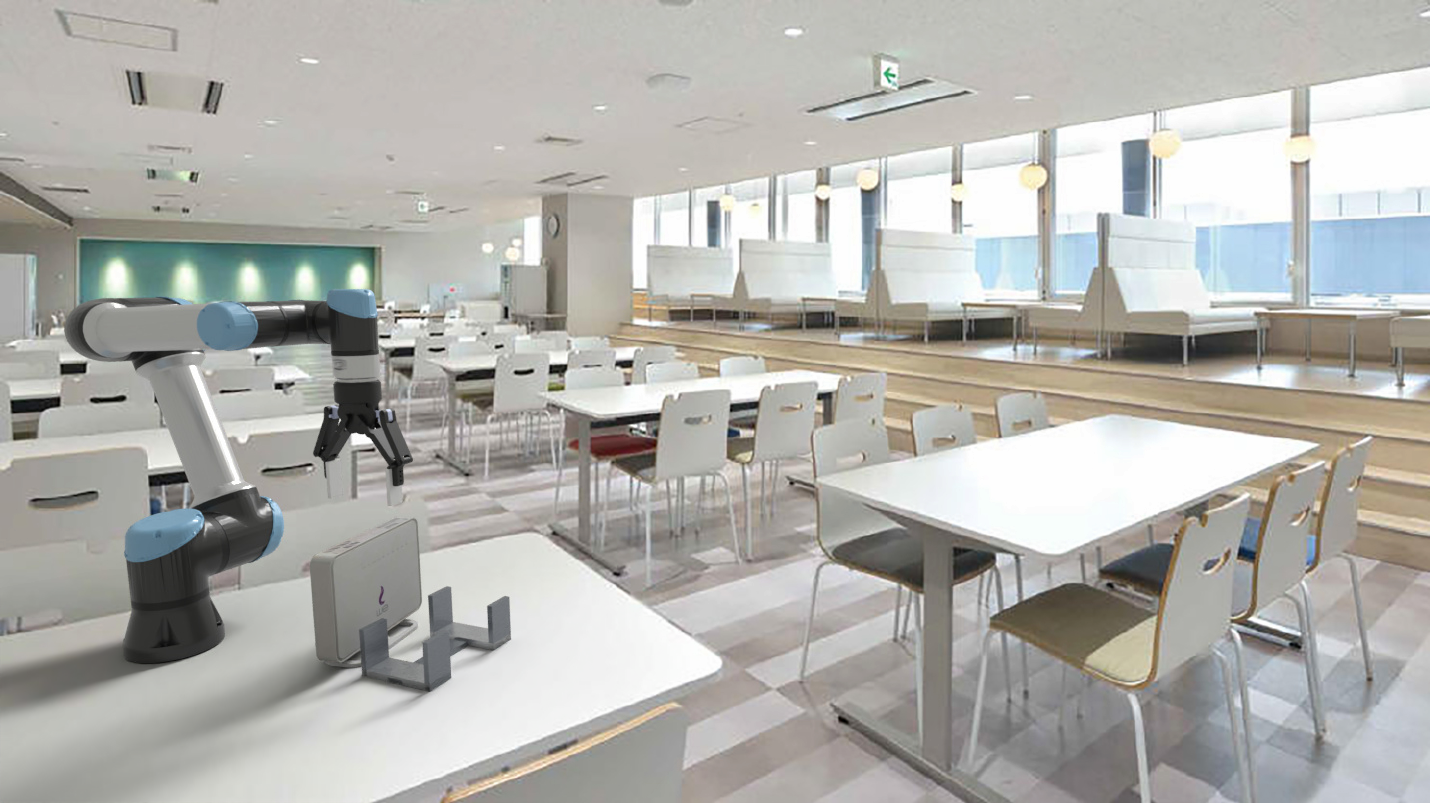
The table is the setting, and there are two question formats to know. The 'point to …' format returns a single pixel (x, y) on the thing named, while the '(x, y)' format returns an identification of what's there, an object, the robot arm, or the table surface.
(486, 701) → the table surface
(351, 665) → the network device
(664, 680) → the table surface
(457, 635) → the stand
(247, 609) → the table surface
